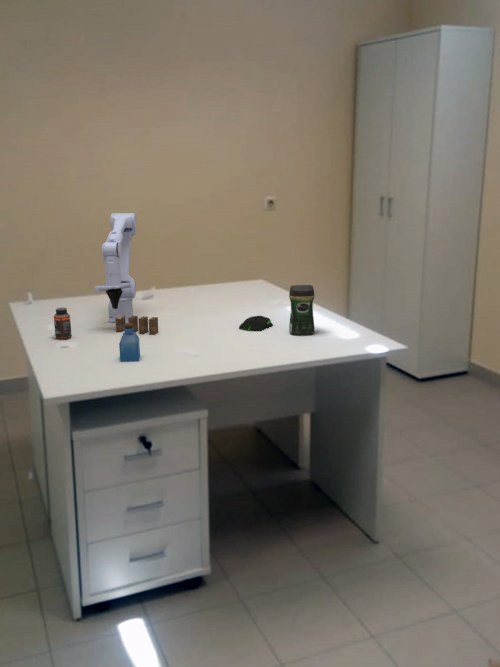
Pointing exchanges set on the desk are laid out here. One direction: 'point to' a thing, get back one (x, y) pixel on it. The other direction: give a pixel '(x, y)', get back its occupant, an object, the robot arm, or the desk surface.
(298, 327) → the coffee jar
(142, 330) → the domino
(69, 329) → the supplement bottle
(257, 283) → the desk surface
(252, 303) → the desk surface
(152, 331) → the domino
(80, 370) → the desk surface
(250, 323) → the computer mouse
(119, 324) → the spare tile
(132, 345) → the perfume bottle
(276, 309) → the desk surface
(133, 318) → the domino
